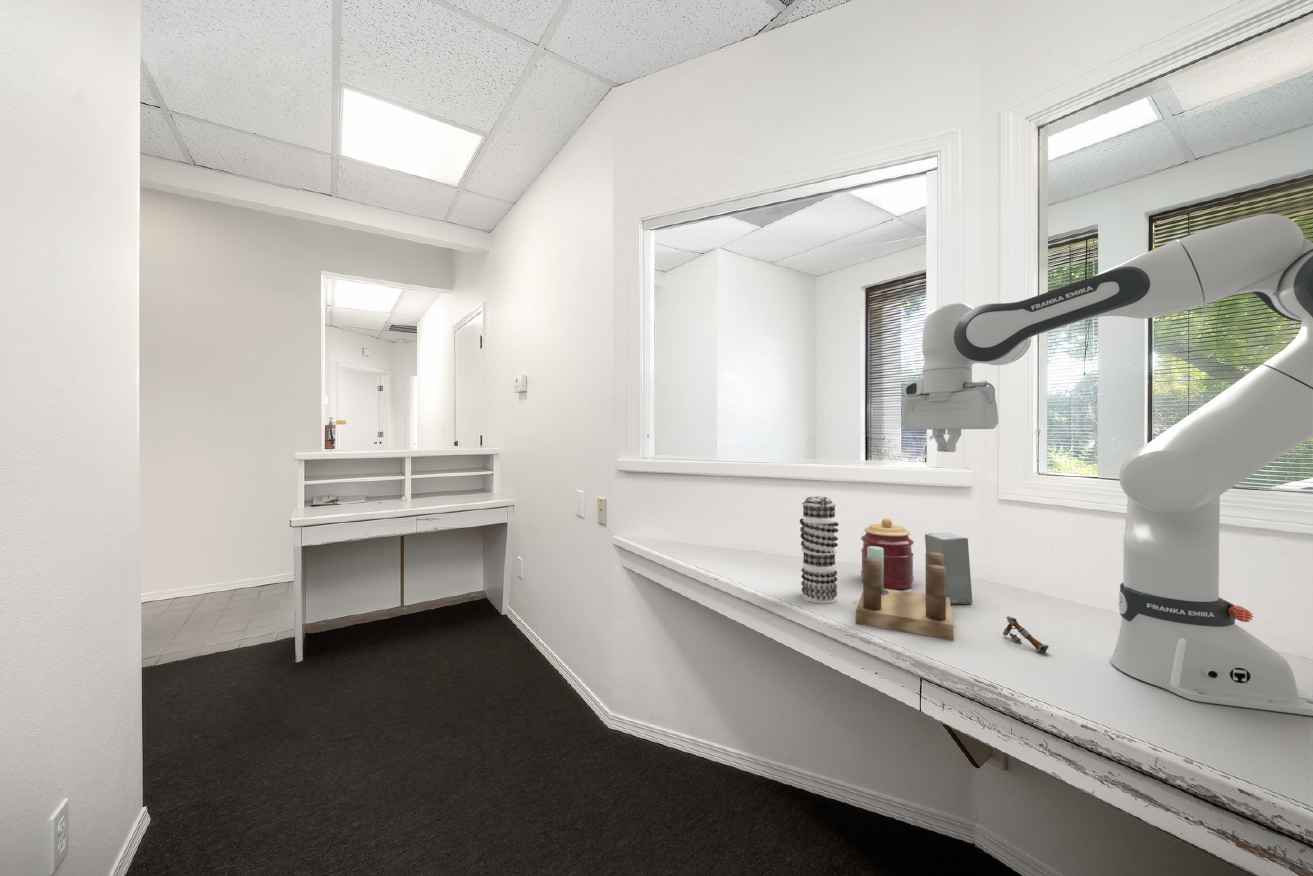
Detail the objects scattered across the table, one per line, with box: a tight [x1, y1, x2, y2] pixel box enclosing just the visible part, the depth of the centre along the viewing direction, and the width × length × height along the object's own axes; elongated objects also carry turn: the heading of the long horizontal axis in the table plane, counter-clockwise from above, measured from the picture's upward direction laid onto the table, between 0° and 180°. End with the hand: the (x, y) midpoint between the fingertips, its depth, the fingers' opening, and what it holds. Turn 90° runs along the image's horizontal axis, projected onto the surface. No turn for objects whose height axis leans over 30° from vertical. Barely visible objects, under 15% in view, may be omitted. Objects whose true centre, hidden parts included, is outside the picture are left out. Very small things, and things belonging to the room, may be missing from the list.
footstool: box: [855, 551, 955, 641], centre depth 108 cm, size 18×18×13 cm
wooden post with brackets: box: [1002, 616, 1050, 654], centre depth 94 cm, size 2×8×4 cm, turn 13°
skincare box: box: [924, 532, 973, 605], centre depth 119 cm, size 8×7×16 cm
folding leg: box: [867, 546, 885, 592], centre depth 114 cm, size 9×4×10 cm, turn 154°
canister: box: [860, 517, 915, 590], centre depth 132 cm, size 13×13×18 cm
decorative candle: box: [799, 496, 839, 605], centre depth 121 cm, size 9×9×25 cm
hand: (946, 451), depth 100 cm, fingers closed
